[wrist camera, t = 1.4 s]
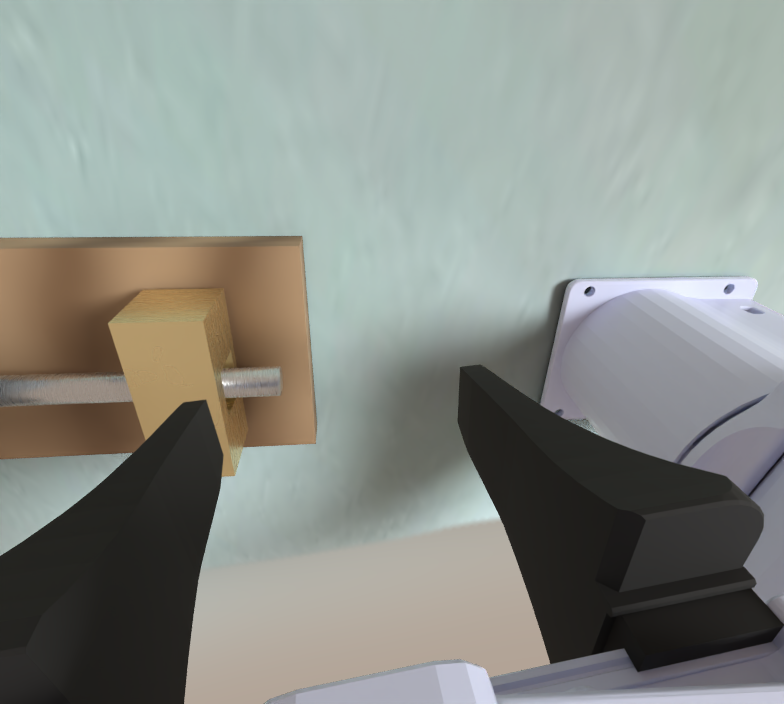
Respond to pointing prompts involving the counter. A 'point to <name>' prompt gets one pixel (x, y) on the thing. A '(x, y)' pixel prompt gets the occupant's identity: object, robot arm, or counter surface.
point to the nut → (180, 360)
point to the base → (98, 352)
